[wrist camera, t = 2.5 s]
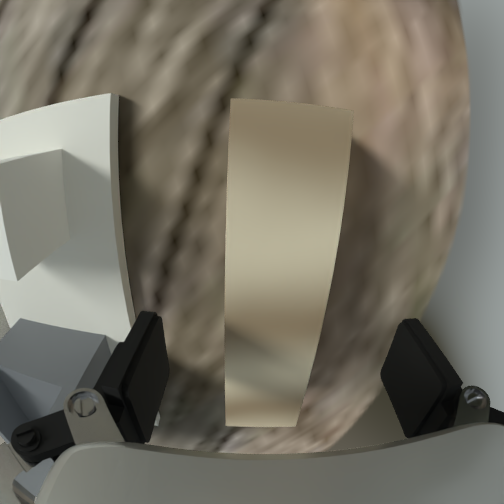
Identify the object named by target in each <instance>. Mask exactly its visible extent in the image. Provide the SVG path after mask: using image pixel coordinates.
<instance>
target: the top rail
mask: <svg viewBox="0 0 504 504" xmlns="http://www.w3.org/2000/svg"><path fill="white" fill-rule="evenodd" d="M353 114H354V111H353V110H347V109H341V108H334V107H328V106H320V105H313V104H304V103H295V102H284V101H272V100H257V99H231V106H230V126H229V149H228V174H227V205H226V247H225V416H226V426H240V427H294V426H296V423H297V420H298V416H299V413H300V410H301V406H302V403H303V399H304V396H305V392H306V389H307V385H308V381H309V377H310V374H311V370H312V366H313V362H314V358H315V354H316V350H317V346H318V342H319V338H320V333H321V329H322V324H323V320H324V315H325V311H326V306H327V301H328V296H329V291H330V286H331V281H332V276H333V271H334V265H335V260H336V254H337V248H338V242H339V236H340V229H341V223H342V216H343V209H344V202H345V194H346V186H347V178H348V169H349V160H350V150H351V139H352V128H353Z"/></svg>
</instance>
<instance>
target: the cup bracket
mask: <svg viewBox="0 0 504 504" xmlns="http://www.w3.org/2000/svg"><path fill="white" fill-rule="evenodd" d="M118 107H119V95H117V94H112V93H109V94H103V95H97V96H91V97H86V98H80V99H75V100H71V101H66V102H61V103H57V104H53V105H49V106H45V107H41V108H37V109H34V110H30V111H27V112H23V113H20V114H17V115H13V116H10V117H7V118H4V119H1V120H0V303H1V306H2V308H3V311H4V314H5V316H6V319H7V321H8V324H9V326H10V330H9V331H8V332H7V333H6V334H5V336H4V337H3V338H2V339H1V340H0V436H1V437H2V438H3V439H4V440H5V441H6V443H7V444H9V443H10V442H11V436H12V433H13V431H14V429H16V428H17V427H18V426H19V425H21V424H23V423H26V422H29V421H32V420H35V419H38V418H41V417H44V416H46V415H49V414H52V413H55V412H57V411H60V410H63V409H64V408H63V403H64V400H65V398H66V397H67V395H68V394H70V393H71V392H72V391H74V390H76V389H80V388H91V389H93V388H94V386H95V384H96V382H97V380H98V379H99V377H100V375H101V373H102V371H103V369H104V367H105V366H106V364H107V362H108V360H109V358H110V356H111V355H112V353H113V351H114V349H115V347H116V346H117V344H118V343H119V342H124V341H125V339H126V337H127V335H128V334H129V332H130V330H131V328H132V326H133V325H134V323H135V321H136V318H135V313H134V307H133V302H132V296H131V290H130V283H129V277H128V270H127V263H126V255H125V247H124V238H123V228H122V217H121V205H120V190H119V168H118ZM159 420H160V414H159V411H158V414H157V417H156V421H155V424H154V425H155V426H158V424H159Z"/></svg>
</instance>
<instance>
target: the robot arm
mask: <svg viewBox="0 0 504 504" xmlns="http://www.w3.org/2000/svg"><path fill="white" fill-rule="evenodd" d="M168 377H169V363H168V357H167V351H166V344H165V337H164V330H163V323H162V318H161V317H160V316H157V313H156V312H147V311H141V312H140V314H139V316H138V318H137V319H136V321H135V323H134V325H133V326H132V328H131V330H130V332H129V334H128V335H127V337H126V339H125V341H124V342H119V343H118V344H117V346H116V347H115V349H114V351H113V353H112V355H111V356H110V358H109V360H108V362H107V364H106V366H105V367H104V369H103V371H102V373H101V375H100V377H99V379H98V380H97V382H96V384H95V386H94V388H93V389H91V388H80V389H76V390H74V391H72V392H71V393H70V394H68V395H67V397H66V398H65V400H64V403H63V408H64V409H63V410H60V411H57V412H55V413H52V414H49V415H46V416H44V417H41V418H38V419H35V420H32V421H29V422H26V423H23V424H21V425H19V426H18V427H17V428H16V429H14V431H13V433H12V436H11V442H10V443H9V444H6V442H4V443H2V444H1V445H0V504H34V500H35V496H36V495H37V494H38V493H39V494H38V496H37V499H36V502H35V504H504V412H501V411H498V410H496V409H494V408H491V407H490V398H489V397H488V394H487V393H486V392H485V391H484V390H483V389H481V388H479V387H477V386H467V387H465V388H464V389H463V390H462V388H461V385H462V384H463V382H462V380H461V379H460V378H459V376H458V375H457V373H456V371H455V370H454V369H453V367H452V366H451V365H450V363H449V361H448V360H447V358H446V357H445V356H444V354H443V353H442V351H441V350H440V349H439V347H438V346H437V345H436V343H435V342H434V340H433V339H432V337H431V336H430V335H429V333H428V332H427V331H426V329H425V328H424V327H423V325H422V324H421V323H420V321H419V320H418V319H416V318H414V319H404V320H403V321H402V323H400V324H399V325H398V328H397V331H396V333H395V336H394V339H393V342H392V344H391V347H390V349H389V352H388V355H387V357H386V360H385V362H384V365H383V367H382V369H381V379H382V382H383V384H384V386H385V389H386V391H387V393H388V395H389V397H390V400H391V402H392V405H393V407H394V409H395V412H396V414H397V417H398V419H399V421H400V424H401V426H402V429H403V431H404V434H405V436H406V437H407V438H408V439H404V440H399V441H394V442H389V443H384V444H379V445H372V446H366V447H360V448H352V449H345V450H336V451H326V452H314V453H297V454H235V453H218V452H206V451H195V450H185V449H177V448H169V447H162V446H155V445H147V444H144V443H145V442H147V443H148V442H149V441H150V438H151V435H152V431H153V428H154V424H155V421H156V417H157V414H158V410H159V407H160V403H161V400H162V397H163V393H164V390H165V387H166V383H167V380H168Z"/></svg>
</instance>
